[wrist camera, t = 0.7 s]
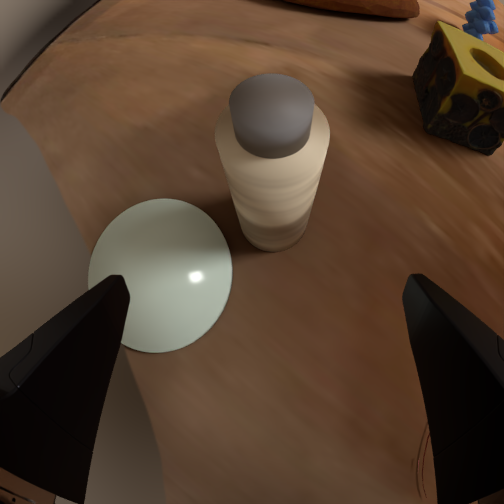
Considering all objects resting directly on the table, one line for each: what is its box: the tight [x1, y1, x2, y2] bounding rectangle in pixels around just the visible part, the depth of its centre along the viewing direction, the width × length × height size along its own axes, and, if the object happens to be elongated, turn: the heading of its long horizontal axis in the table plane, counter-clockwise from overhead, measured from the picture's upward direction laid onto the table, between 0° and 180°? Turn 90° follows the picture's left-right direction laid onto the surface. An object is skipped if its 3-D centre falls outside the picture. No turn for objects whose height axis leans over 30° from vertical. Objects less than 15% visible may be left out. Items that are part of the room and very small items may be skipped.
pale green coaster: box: [88, 199, 233, 353], centre depth 24 cm, size 13×13×1 cm
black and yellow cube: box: [412, 21, 504, 155], centre depth 23 cm, size 10×10×10 cm
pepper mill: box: [215, 74, 330, 252], centre depth 18 cm, size 6×6×14 cm
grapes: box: [462, 0, 498, 41], centre depth 26 cm, size 12×7×12 cm, turn 154°
